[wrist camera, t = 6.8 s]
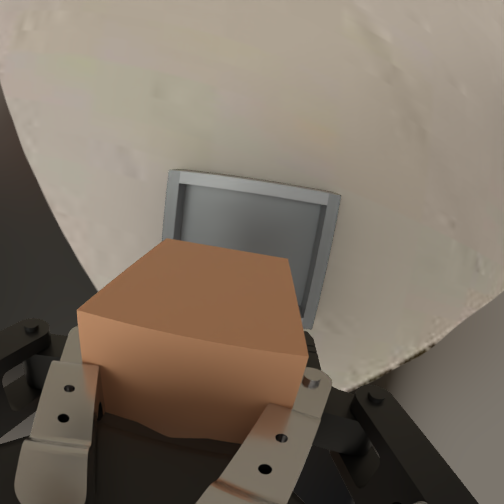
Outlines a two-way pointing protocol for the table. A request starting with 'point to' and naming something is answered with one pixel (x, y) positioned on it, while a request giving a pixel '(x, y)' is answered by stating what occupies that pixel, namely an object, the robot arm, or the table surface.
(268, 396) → the terracotta cube
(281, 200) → the chassis bay
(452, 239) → the table surface
